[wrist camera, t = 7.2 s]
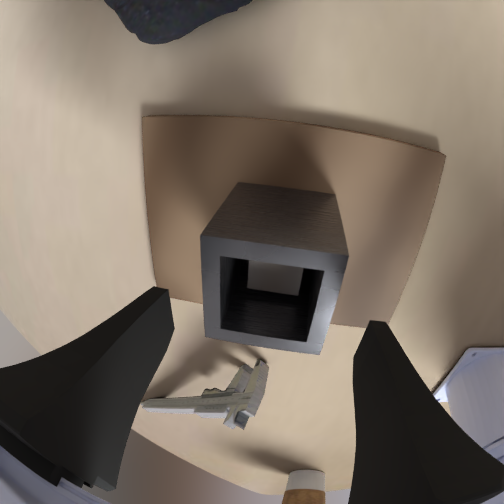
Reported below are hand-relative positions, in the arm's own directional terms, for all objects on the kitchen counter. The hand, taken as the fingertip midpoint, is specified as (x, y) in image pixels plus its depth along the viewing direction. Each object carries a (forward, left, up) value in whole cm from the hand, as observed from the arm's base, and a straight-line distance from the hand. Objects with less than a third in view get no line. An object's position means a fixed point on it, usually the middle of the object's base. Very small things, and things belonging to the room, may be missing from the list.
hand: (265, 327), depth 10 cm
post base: (0, 0, -9) cm, 9 cm away
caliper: (+7, +19, -8) cm, 22 cm away
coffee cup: (-10, +43, -8) cm, 45 cm away
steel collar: (0, 0, -7) cm, 7 cm away
